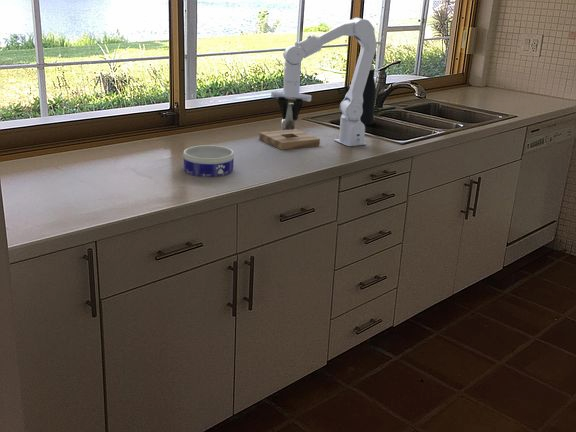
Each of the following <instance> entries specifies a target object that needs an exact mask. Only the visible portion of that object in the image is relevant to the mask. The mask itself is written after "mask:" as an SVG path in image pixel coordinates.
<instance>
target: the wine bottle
mask: <svg viewBox="0 0 576 432" xmlns="http://www.w3.org/2000/svg"><path fill="white" fill-rule="evenodd" d="M376 56H377V50H376V51H375V55H374V58H373V61H372V65H371V68H370V71H369V75H368V78H367V82H366V85H365V88H364V92H363V104H362V108H363V113H362V115H361V117H360V120H361V122H362V123H363V124H364V126H371V125H373V124H374V123H373V122H374V112H375V103H376V102H375V101H376V91H377V87H376V86H377V85H376V81H375V65H374V60H376V58H377V57H376Z"/></svg>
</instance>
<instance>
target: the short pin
mask: <svg viewBox="0 0 576 432" xmlns="http://www.w3.org/2000/svg"><path fill="white" fill-rule="evenodd" d="M280 128H281V129H280V131H281V130H288V129H285V119H283V118H282V119H281V127H280Z"/></svg>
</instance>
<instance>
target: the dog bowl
mask: <svg viewBox="0 0 576 432" xmlns="http://www.w3.org/2000/svg"><path fill="white" fill-rule="evenodd" d="M182 155H183V170H184V173H186V174H188V175H191V176H195V177H199V178H200V177H201V178H219V177H224V176H227V175H230V174H232V173H233V171H234V155H235V151H234V150H233V149H231V148H229V147H226V146H221V145H214V144H213V145H211V144H210V145H209V144H207V145H205V144H204V145H202V144H201V145H196V146H190V147H188V148H185V149H184V150H183V154H182Z"/></svg>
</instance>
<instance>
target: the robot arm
mask: <svg viewBox="0 0 576 432" xmlns="http://www.w3.org/2000/svg"><path fill="white" fill-rule="evenodd" d="M375 34H376V33H375V26H374V25H373V24H372V23H371V21H370V20H368V19H366V18H365V19H364V18H361V17H359V16H358V17H357V16H356V17H353V18H351V19H348V20H345V21H344V22H341V23H340V24H338V25H336V26H335V27H332V28H331V29H330V30H328V31H325V32H324V33H322V34H321V35H318V36H317V35H316V34H312V35H311V34H308V35H307V36H306V38H305V39H303V40H301V41H299V42H298V41H295V42H294V45H289V46H287V47H286V48H285V49H284V51H283V58H284V70H283V71H284V72H283V90H282V91H275V90H273V91H271V93H270V98H274V99H275V98H277V100H276V101H277V104H278V105H279V108H280V111H281V116H282V119H285V111H286V103H289V100H293V103H294V120H295V121H298V118H299V114H300V111H301V108H302V106H303V105H304V103H305V101H306V102H309V103H310V102H311V101H312V95H311V94H305V93H300V86H301V69H302V68H301V62H302V61H303V60H304V59H306V58H308V57H310V56H312V55H314V54H316V53H318V52H319V51H321V50H322V47H323V46H324V45H326V44H328V43H330V42H333V41H334V40H337V39H339V38H341V37H343V36H347V37H354V38H355V39H356V40H357V42H358V44H359V45H360V52H359V56H358V58H357V60H356V66H355V69H354V71H353V75H352V79H351V83H350V87H349V89H348V91H347V92H346V94H345V96H344V99H343V100H342V101H341V102H340V104H339V110H340V112H341V113H342V114H341V115H340V118H339V119H340V123H339V135H338V136H339V137H338V138H334V139H333V141H335V142H338V143H339V144H342V145H344V146H347V147H355V146H363V145H365V146H366V145H367V143H366V142H365V136H366V135H365V133H366V125H364V124H363V123H362V122H361V120H360V117H361V115H362V113H363V108H362V104H363V92H364V88H365V85H366V82H367V78H368V75H369V71H370V68H371V65H373V64H372V61H373V58H374V55H375V51H376V52H377V48H378V43H377V38H376V35H375Z"/></svg>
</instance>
